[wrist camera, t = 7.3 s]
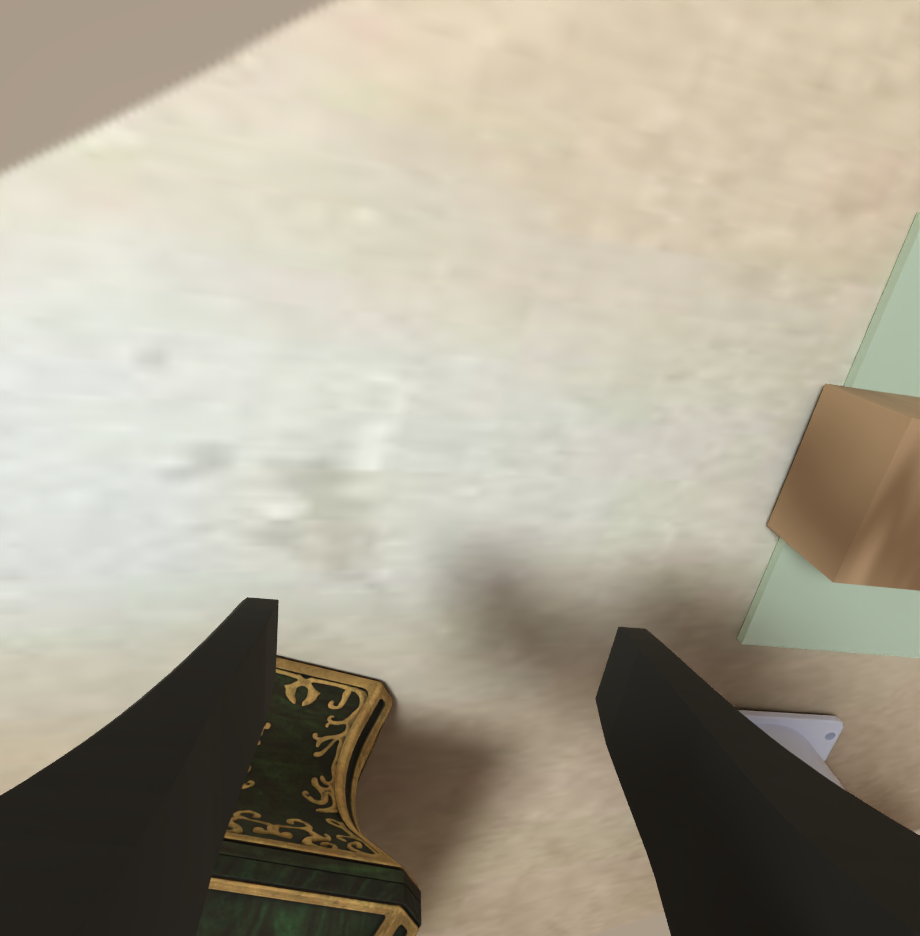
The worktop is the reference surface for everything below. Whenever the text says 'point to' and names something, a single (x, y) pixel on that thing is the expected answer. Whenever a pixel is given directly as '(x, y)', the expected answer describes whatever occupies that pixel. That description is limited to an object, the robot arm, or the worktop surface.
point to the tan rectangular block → (857, 489)
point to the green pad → (794, 578)
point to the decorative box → (309, 822)
